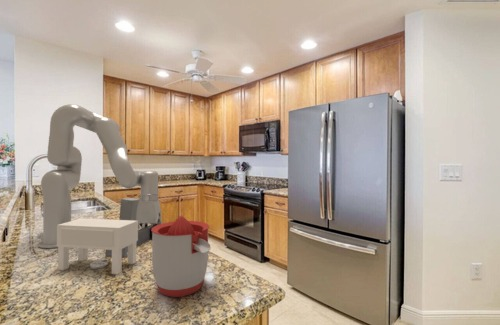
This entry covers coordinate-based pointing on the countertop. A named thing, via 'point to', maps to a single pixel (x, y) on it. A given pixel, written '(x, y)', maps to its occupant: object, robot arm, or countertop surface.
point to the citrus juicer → (180, 256)
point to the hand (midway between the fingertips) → (149, 237)
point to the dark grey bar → (142, 237)
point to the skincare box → (128, 209)
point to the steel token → (98, 264)
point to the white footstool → (97, 240)
